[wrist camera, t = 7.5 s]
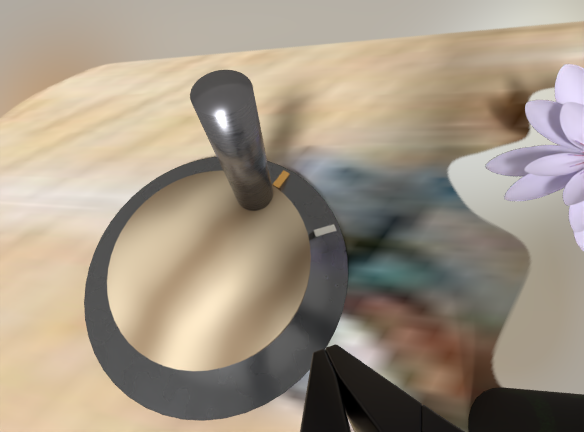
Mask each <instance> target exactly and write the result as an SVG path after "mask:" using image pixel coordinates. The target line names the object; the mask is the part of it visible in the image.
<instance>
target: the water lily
mask: <svg viewBox="0 0 584 432" xmlns="http://www.w3.org/2000/svg"><path fill="white" fill-rule="evenodd" d="M555 99H556V102H554V101H549V100H534V101H529V102H527V103H526V105H525V113H526V116H527V119H528V121H529V122H530V124H531V125H532V127H533V128H534V129H535V130H536V131H537V132H539V133H540V134H541V135H543V136H544V137H546V138H547V139H548V140H550V141H552V142H553V143H556V144H558V145H540V146H532V147H525V148H519V149H515V150H511V151H508V152H505V153H503V154H501V155H498V156H496V157H495V158H493V159H491V160H490V161H489V162H488V163H487V164H486V165H485V167H486V169H488V170H490V171H491V172H494V173H497V174H501V175H507V176H524V177H522V178H521V179H519V180H518V181H517V182H515V183H514V184H513V185H512V186H511V187H510V188H509V190H508V191H507V192H506V194H505V196H504V199H506V200H509V201H526V200H531V199H536V198H540V197H543V196H546V195H548V194H551V193H553V192H556V191H558V190H560V189H562V188H564V187H565V188H564V191H563V201H564V203H565V204H566V205H567V206H570V207H569V221H570V224H571V227H572V229H573V232H574V237H575V240H576V242H577V244H578V246H579V247H580V248H581V249H582V250H583V251H584V68H582V67H580V66H577V65H573V64H565V65H563V66H562V67H561V69H560V71H559V73H558V75H557V78H556V82H555Z"/></svg>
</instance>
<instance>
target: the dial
mask: <svg viewBox="0 0 584 432" xmlns="http://www.w3.org/2000/svg"><path fill="white" fill-rule="evenodd" d="M190 99H191V102H192V104H193V107H194V109H195V111H196V113H197V115H198V117H199V119H200V122H201V124H202V126H203V128H204V130H205V132H206V135H207V137H208V139H209V141H210V143H211V145H212V147H213V150H214V152H215V154H216V156H217V158H218V160H219V162H220V165H221V167H222V169H223V171H209V172H203V173H198V174H194V175H191V176H187V177H185V178H182V179H180V180H177V181H175V182H173V183H171V184H169V185H167V186H166V187H164V188H163V189H161V190H159V191H158V192H156V193H155V194H154V195H153V196H151V197H150V198H149V199H148V200H146V201H145V202H144V203H143V204H142V205H141V206H140V207H139V208H138V209H137V210H136V212H135V213H134V214H133V215H132V216H131V218H130V219H129V220H128V222H127V223H126V225H125V226H124V228H123V230H122V231H121V233H120V235H119V237H118V239H117V241H116V243H115V246H114V249H113V252H112V254H111V258H110V263H109V267H108V276H107V293H108V300H109V305H110V309H111V312H112V315H113V318H114V321H115V322H116V324H117V326H118V328H119V330H120V332H121V333H122V335H123V336H124V337H125V338H126V340H127V341H128V342H129V343H130V344H131V345H132V346H133V347H134V348H135V349H136V350H137V351H138V352H139V353H141V354H142V355H144V356H145V357H147V358H148V359H150V360H152V361H154V362H156V363H158V364H160V365H163V366H166V367H170V368H173V369H177V370H186V371H208V370H213V369H218V368H223V367H226V366H229V365H232V364H235V363H238V362H241V361H243V360H245V359H247V358H249V357H251V356H253V355H255V354H257V353H259V352H260V351H261V350H263V349H264V348H266V347H267V346H269V345H270V344H271V343H272V342H273V341H274V340H275V339H276V338H277V337H279V336H280V335H281V333H282V332H283V331H284V330H285V329H286V328H287V326H288V325H289V324H290V322H291V321H292V319H293V318H294V316H295V315H296V313H297V311H298V309H299V307H300V305H301V303H302V301H303V298H304V295H305V292H306V289H307V285H308V280H309V275H310V262H311V253H310V243H309V238H308V233H307V230H306V227H305V225H304V222H303V220H302V218H301V216H300V214H299V212H298V210H297V209H296V208H295V206H294V205H293V203H292V202H291V201H290V200H289V199H288V198H287V197H286V196H285V195H284V194H283V193H282V192H281V191H280V190H279V189H277V188H276V187H275V186H273V185H272V184H271V179H270V174H269V168H268V163H267V158H266V153H265V148H264V143H263V138H262V133H261V127H260V122H259V117H258V112H257V107H256V102H255V97H254V92H253V87H252V83H251V81H250V80H249V79H248V77H246V76H245V75H244V74H242V73H240V72H237V71H233V70H219V71H214V72H211V73H209V74H206V75H205V76H203V77H201V78H200V79H199V80H198V81H197V82H196V83H195V84H194V86H193V87H192V89H191V93H190Z"/></svg>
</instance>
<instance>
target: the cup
mask: <svg viewBox="0 0 584 432" xmlns="http://www.w3.org/2000/svg"><path fill="white" fill-rule="evenodd" d="M469 432H584V395H582V394H571V393H559V392H547V391H536V390H535V391H534V390H524V389H513V388H492V389H490V390H487V391H485V392H483V393H482V394H481V395H480V396H479V397H477V399H476V400H475V402H474V404H473V405H472V407H471V411H470V415H469Z"/></svg>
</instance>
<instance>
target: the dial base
mask: <svg viewBox="0 0 584 432" xmlns="http://www.w3.org/2000/svg"><path fill="white" fill-rule="evenodd" d="M267 163H268V168H269V174H270V179H271V184H272V185H273V186H275V187H276V188H277V189H279V190H280V191H281V192H282V193H283V194H284V195H285V196H286V197H287V198H288V199H289V200H290V201H291V202H292V203H293V205H294V206H295V208H296V209H297V210H298V212H299V214H300V216H301V218H302V220H303V222H304V225H305V227H306V230H307V233H308V238H309V243H310V253H311V262H310V275H309V280H308V285H307V289H306V292H305V295H304V298H303V301H302V303H301V305H300V307H299V309H298V311H297V313H296V315H295V316H294V318H293V319H292V321H291V322H290V324H289V325H288V326H287V328H286V329H285V330H284V331H283V332H282V333H281V335H280V336H279V337H277V338H276V339H275V340H274V341H273V342H272V343H271V344H270V345H269V346H267V347H266V348H264V349H263V350H261V351H260V352H259V353H257V354H255V355H253V356H251V357H249V358H247V359H245V360H243V361H241V362H238V363H235V364H232V365H229V366H226V367H223V368H218V369H213V370H208V371H186V370H177V369H173V368H170V367H166V366H163V365H160V364H158V363H156V362H154V361H152V360H150V359H148V358H147V357H145V356H144V355H142V354H141V353H139V352H138V351H137V350H136V349H135V348H134V347H133V346H132V345H131V344H130V343H129V342H128V341H127V340H126V338H125V337H124V336H123V335H122V333H121V332H120V330H119V328H118V326H117V324H116V322H115V321H114V318H113V315H112V312H111V309H110V305H109V300H108V293H107V276H108V267H109V263H110V258H111V254H112V252H113V249H114V246H115V243H116V241H117V239H118V237H119V235H120V233H121V231H122V230H123V228H124V226H125V225H126V223H127V222H128V220H129V219H130V218H131V216H132V215H133V214H134V213H135V212H136V210H137V209H138V208H139V207H140V206H141V205H142V204H143V203H144V202H145V201H146V200H148V199H149V198H150V197H151V196H153V195H154V194H155V193H156V192H158V191H159V190H161V189H163V188H164V187H166V186H167V185H169V184H171V183H173V182H175V181H177V180H180V179H182V178H185V177H187V176H191V175H194V174H198V173H203V172H209V171H223V169H222V167H221V165H220V162H219V160H218V158H217V157H212V158H207V159H202V160H197V161H194V162H191V163H188V164H184V165H182V166H180V167H177V168H175V169H173V170H170V171H169V172H167V173H165V174H163V175H161V176H159V177H158V178H156V179H155V180H153V181H152V182H150V183H149V184H147V185H146V186H145V187H143V188H142V189H141V190H140V191H139V192H137V193H136V194H135V195H134V196H133V197H132V198H131V199H130V200H129V201H128V202H127V203H126V204H125V205H124V206H123V207H122V208H121V209H120V211H119V212H118V213H117V214H116V216H115V217H114V218H113V220H112V221H111V222H110V224H109V226H108V227H107V229H106V230H105V232H104V234H103V235H102V237H101V239H100V241H99V244H98V246H97V248H96V250H95V252H94V255H93V258H92V261H91V264H90V267H89V271H88V276H87V281H86V287H85V299H84V305H85V321H86V326H87V331H88V336H89V339H90V342H91V345H92V348H93V351H94V353H95V355H96V357H97V359H98V361H99V363H100V364H101V366H102V368H103V370H104V371H105V372H106V374H107V375H108V376H109V378H110V379H111V380H112V381H113V383H114V384H115V385H116V386H117V387H118V388H119V389H120V390H122V391H123V392H124V393H125V394H126V395H127V396H128V397H129V398H131V399H133V400H134V401H136V402H137V403H139V404H141V405H142V406H144V407H145V408H148V409H150V410H153V411H155V412H158V413H160V414H162V415H166V416H170V417H175V418H179V419H186V420H203V421H204V420H213V419H223V418H228V417H232V416H235V415H239V414H243V413H246V412H249V411H251V410H253V409H256V408H258V407H260V406H263V405H265V404H267V403H268V402H270V401H272V400H273V399H275V398H276V397H278V396H280V395H281V394H283V393H284V392H286V391H287V390H288V389H289V388H290V387H292V386H293V385H294V384H295V383H297V382H298V381H299V380H300V379H301V378H302V377H303V376H304V375H305V374H306V373H307V372H308V371H309V369H310V368H311V362H312V356H313V353H314V352H315V351H318V350H321V349H326V347H327V345H328V343H329V341H330V340H331V338H332V336H333V334H334V332H335V330H336V327H337V325H338V322H339V319H340V317H341V314H342V311H343V307H344V302H345V298H346V293H347V282H348V262H347V254H346V248H345V242H344V239H343V236H342V233H341V230H340V227H339V225H338V223H337V221H336V218H335V216H334V214H333V212H332V211H331V209H330V208H329V206H328V205H327V203H326V202H325V200H324V199H323V198H322V197H321V196H320V195H319V193H318V192H317V191H316V190H315V189H314V188H313V187H312V186H311V185H310V184H308V183H307V182H306V181H305V180H304V179H302V178H301V177H299V176H298V175H296V174H295V173H293V172H292V171H290V170H288V169H286V168H284V167H282V166H280V165H277V164H274V163H272V162H269V161H267Z"/></svg>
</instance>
